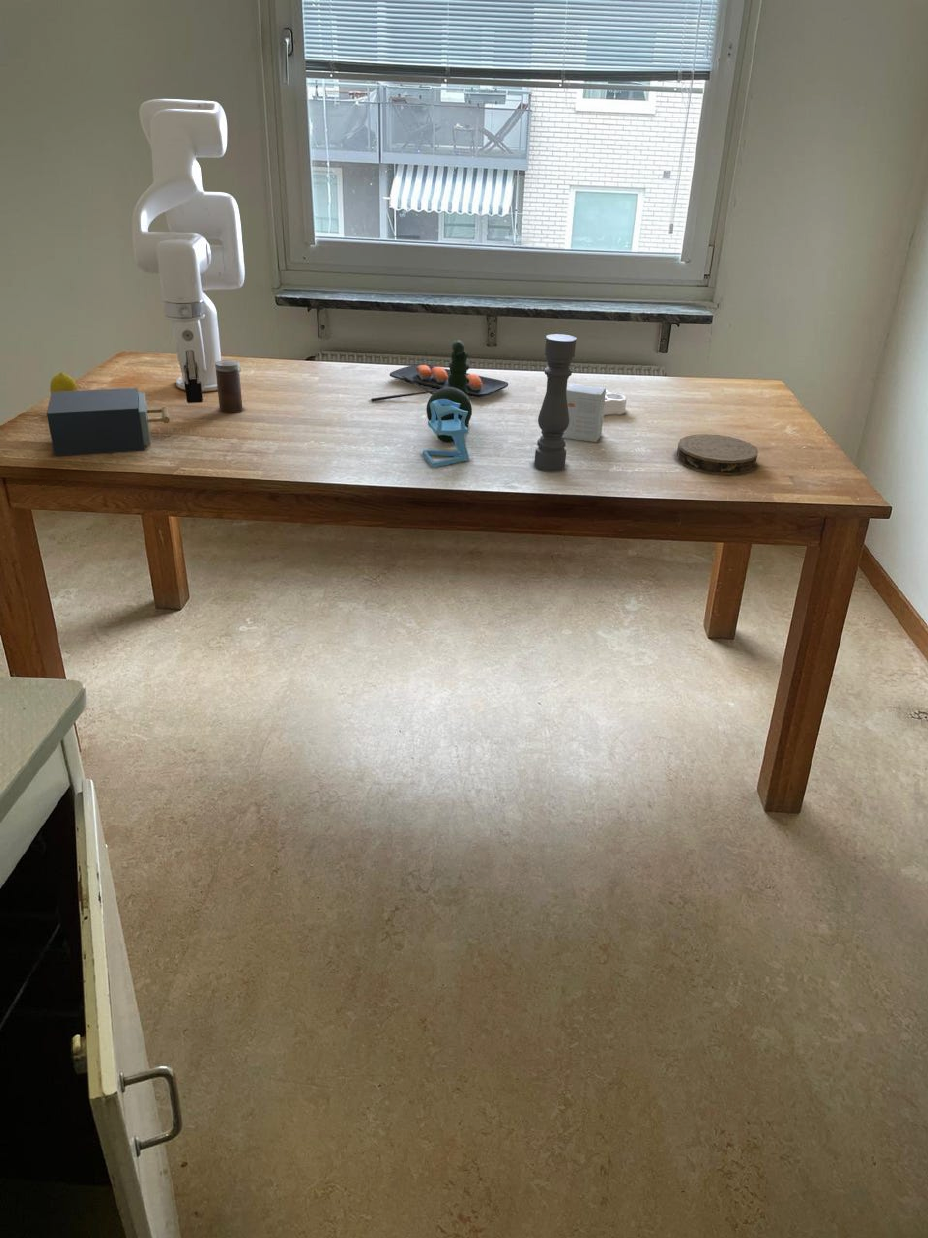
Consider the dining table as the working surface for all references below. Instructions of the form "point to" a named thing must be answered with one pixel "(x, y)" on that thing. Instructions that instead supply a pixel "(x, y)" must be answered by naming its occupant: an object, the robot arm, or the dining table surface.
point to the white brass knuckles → (614, 403)
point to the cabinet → (95, 421)
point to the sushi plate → (442, 381)
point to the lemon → (63, 383)
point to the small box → (585, 412)
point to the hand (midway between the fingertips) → (194, 401)
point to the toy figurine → (454, 388)
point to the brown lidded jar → (228, 386)
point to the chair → (448, 432)
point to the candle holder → (555, 403)
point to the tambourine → (716, 454)
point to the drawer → (145, 420)
